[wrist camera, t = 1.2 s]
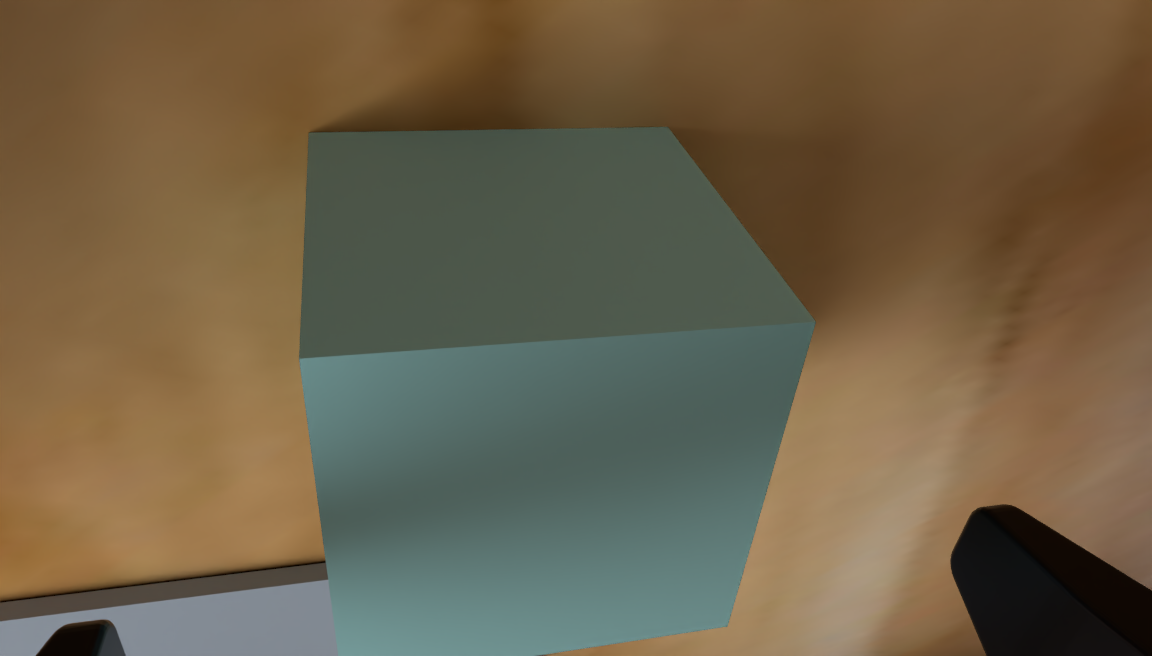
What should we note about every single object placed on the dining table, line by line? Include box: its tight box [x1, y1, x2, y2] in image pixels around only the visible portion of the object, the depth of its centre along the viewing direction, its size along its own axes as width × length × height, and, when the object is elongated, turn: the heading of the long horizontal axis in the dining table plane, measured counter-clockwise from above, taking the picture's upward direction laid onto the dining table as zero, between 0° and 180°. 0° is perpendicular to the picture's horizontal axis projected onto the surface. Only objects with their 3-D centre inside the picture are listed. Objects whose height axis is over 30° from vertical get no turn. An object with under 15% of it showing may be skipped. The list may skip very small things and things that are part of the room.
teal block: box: [299, 127, 816, 656], centre depth 12 cm, size 5×5×5 cm
